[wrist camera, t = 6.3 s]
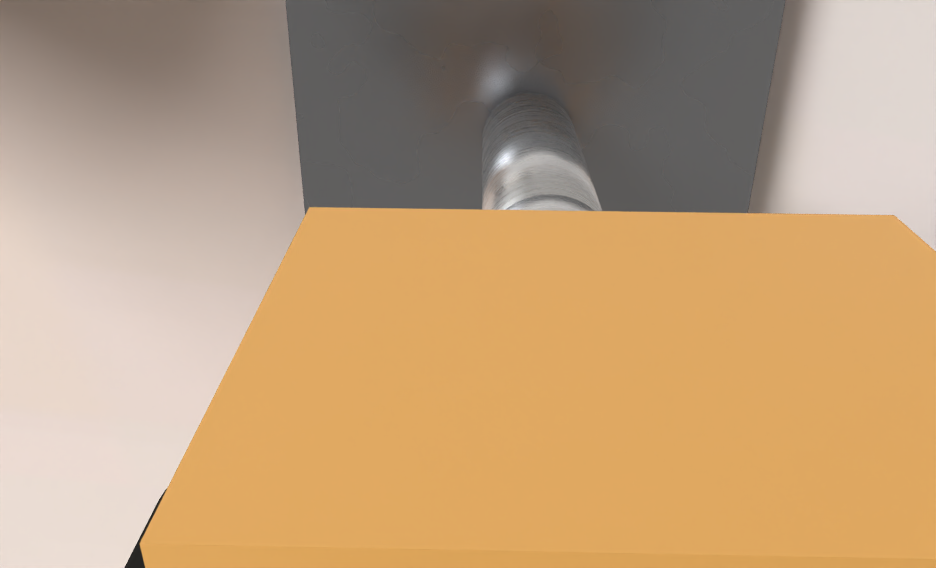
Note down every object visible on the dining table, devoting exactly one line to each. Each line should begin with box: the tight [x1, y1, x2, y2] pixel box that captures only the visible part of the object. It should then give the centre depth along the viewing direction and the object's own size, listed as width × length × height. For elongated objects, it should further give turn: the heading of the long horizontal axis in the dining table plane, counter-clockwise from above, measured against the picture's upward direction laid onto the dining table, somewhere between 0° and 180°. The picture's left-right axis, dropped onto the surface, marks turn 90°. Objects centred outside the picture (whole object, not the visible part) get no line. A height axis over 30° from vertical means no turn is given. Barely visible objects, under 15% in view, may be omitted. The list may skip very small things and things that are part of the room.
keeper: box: [286, 0, 785, 215], centre depth 18 cm, size 16×12×9 cm
